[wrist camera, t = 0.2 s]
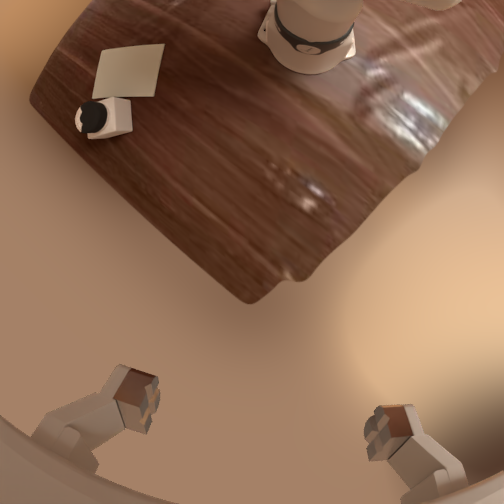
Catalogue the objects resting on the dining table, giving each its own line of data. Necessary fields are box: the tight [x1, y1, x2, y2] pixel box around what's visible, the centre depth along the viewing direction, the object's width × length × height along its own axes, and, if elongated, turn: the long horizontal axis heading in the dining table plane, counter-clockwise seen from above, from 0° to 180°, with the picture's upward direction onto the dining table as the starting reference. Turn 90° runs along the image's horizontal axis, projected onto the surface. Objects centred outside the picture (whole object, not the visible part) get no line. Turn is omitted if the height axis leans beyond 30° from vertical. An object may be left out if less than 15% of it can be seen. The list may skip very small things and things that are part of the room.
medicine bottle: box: [75, 97, 133, 139], centre depth 45 cm, size 7×7×12 cm
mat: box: [92, 44, 165, 99], centre depth 46 cm, size 12×16×1 cm
